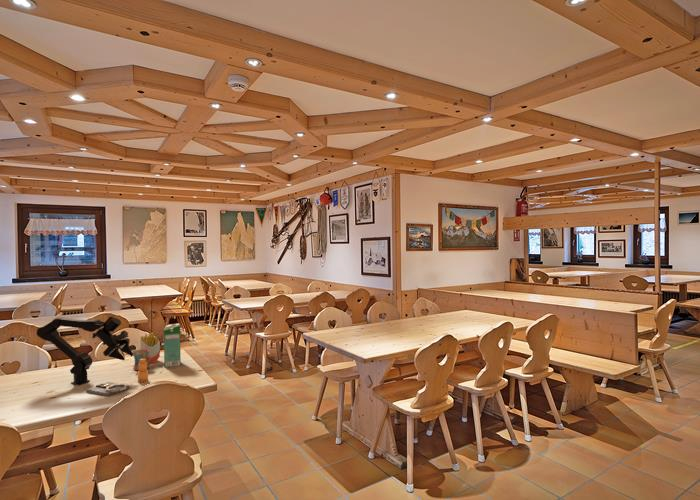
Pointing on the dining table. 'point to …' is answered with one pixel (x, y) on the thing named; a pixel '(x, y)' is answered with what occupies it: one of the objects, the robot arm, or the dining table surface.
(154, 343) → the french fries container
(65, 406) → the dining table surface
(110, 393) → the plate
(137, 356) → the mug
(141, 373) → the wire nut
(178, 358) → the milk carton
